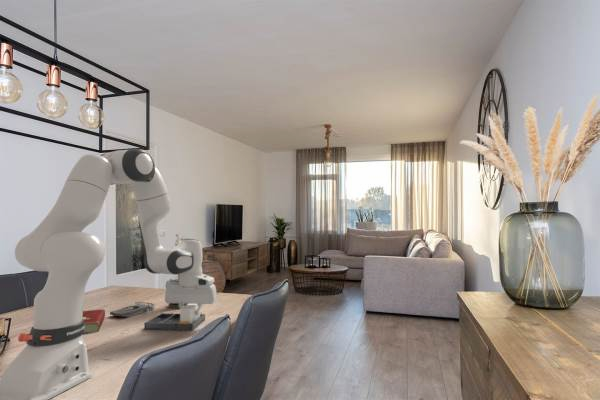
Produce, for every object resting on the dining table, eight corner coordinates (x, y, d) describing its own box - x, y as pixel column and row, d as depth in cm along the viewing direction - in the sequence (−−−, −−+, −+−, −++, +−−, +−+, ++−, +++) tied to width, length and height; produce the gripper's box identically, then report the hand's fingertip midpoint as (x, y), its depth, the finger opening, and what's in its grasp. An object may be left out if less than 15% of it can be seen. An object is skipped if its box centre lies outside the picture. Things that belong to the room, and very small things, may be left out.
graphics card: (136, 300, 167) (155, 302, 162) (137, 308, 167) (155, 310, 162) (104, 309, 152) (123, 312, 147) (104, 318, 151) (123, 321, 146)
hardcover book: (105, 318, 151) (105, 308, 151) (98, 332, 132) (99, 321, 132) (72, 321, 146) (72, 311, 146) (61, 337, 127) (61, 325, 127)
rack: (192, 330, 131) (192, 322, 131) (144, 329, 133) (144, 321, 133) (205, 320, 145) (205, 312, 145) (161, 319, 146) (161, 311, 147)
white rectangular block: (190, 324, 133) (190, 308, 133) (180, 324, 133) (180, 308, 134) (200, 317, 143) (200, 302, 143) (190, 317, 143) (190, 302, 144)
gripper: (162, 280, 137) (161, 316, 136) (212, 281, 135) (212, 317, 134) (169, 277, 143) (169, 312, 142) (218, 278, 141) (218, 312, 141)
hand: (190, 314), depth 138 cm, fingers closed on white rectangular block, 4 cm apart
